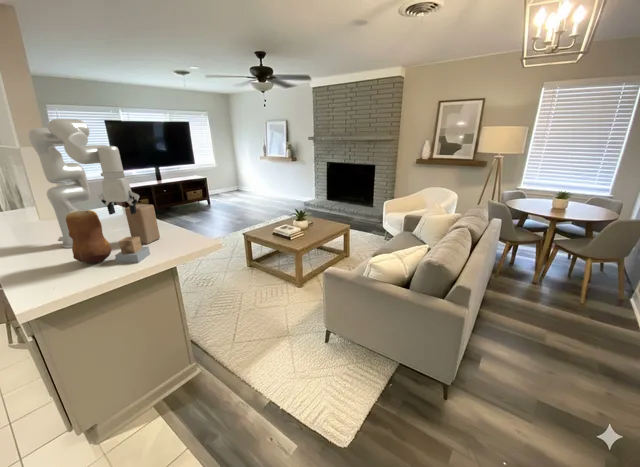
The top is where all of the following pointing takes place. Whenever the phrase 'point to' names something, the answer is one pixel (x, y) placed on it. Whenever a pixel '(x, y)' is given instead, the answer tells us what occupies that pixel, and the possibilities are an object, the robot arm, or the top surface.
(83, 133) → the robot arm
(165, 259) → the top surface
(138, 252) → the pedestal
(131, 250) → the walnut cube
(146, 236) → the block
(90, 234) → the butternut squash
